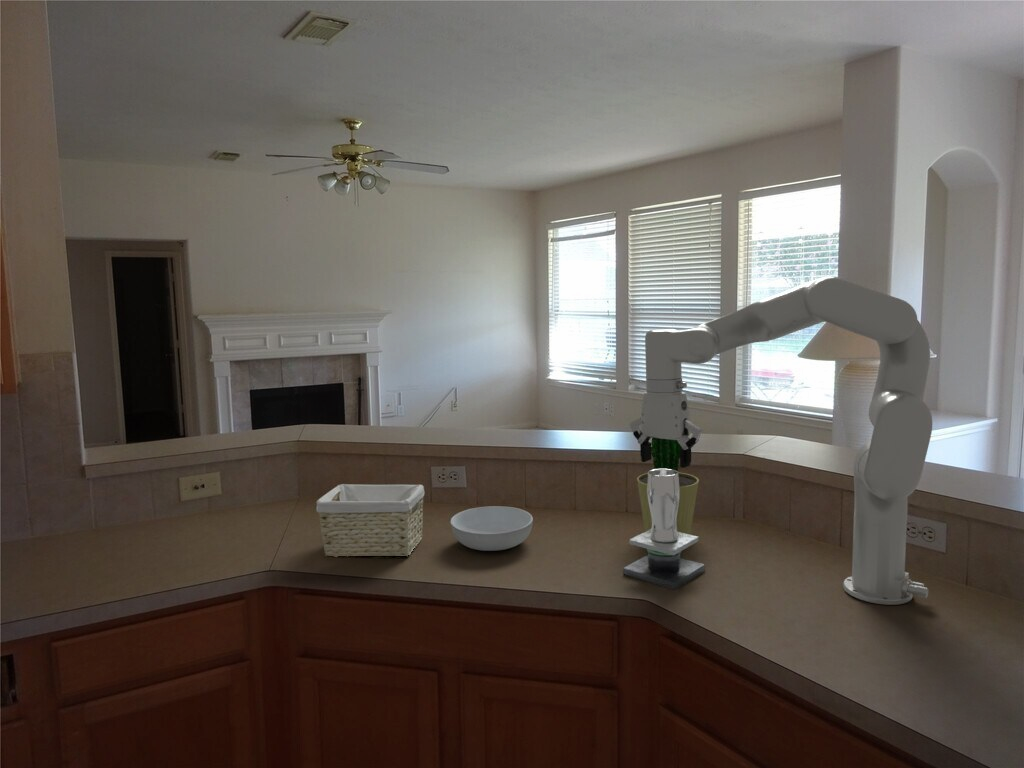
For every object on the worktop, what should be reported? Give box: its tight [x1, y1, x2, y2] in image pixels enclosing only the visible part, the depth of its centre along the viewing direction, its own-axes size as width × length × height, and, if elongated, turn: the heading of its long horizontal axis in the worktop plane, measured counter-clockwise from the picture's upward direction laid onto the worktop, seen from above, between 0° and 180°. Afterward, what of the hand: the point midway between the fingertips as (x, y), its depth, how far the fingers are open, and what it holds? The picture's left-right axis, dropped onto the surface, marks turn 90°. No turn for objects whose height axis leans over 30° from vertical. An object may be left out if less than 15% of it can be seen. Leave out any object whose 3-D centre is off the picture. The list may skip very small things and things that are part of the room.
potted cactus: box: [636, 437, 700, 535], centre depth 181 cm, size 15×15×30 cm
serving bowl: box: [450, 505, 534, 552], centre depth 179 cm, size 21×21×7 cm
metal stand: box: [622, 529, 706, 591], centre depth 158 cm, size 13×13×8 cm
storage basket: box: [316, 483, 426, 557], centre depth 179 cm, size 24×16×15 cm
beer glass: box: [647, 468, 680, 543], centre depth 156 cm, size 7×7×15 cm
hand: (665, 463), depth 155 cm, fingers open, 9 cm apart
